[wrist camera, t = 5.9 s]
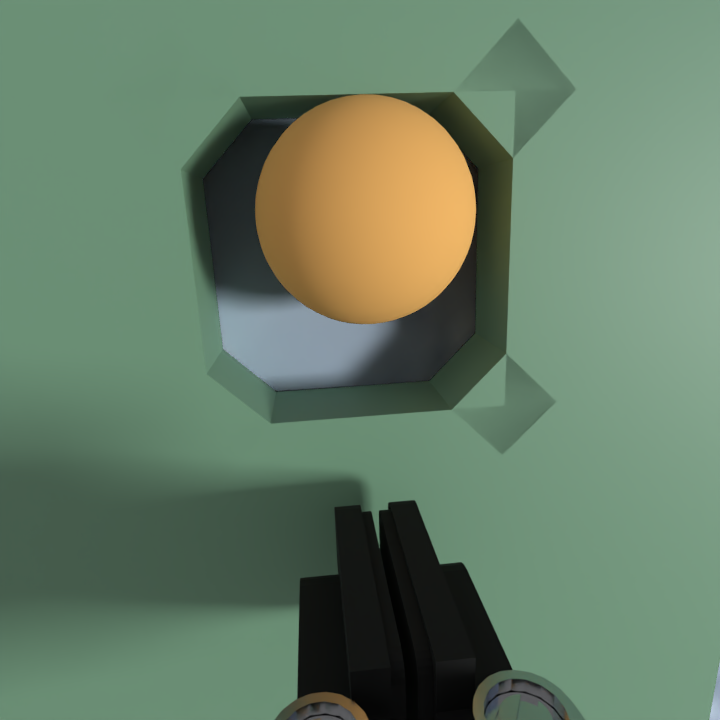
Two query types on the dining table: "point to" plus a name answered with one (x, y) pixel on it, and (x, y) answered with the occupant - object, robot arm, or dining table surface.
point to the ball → (365, 209)
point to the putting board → (358, 403)
